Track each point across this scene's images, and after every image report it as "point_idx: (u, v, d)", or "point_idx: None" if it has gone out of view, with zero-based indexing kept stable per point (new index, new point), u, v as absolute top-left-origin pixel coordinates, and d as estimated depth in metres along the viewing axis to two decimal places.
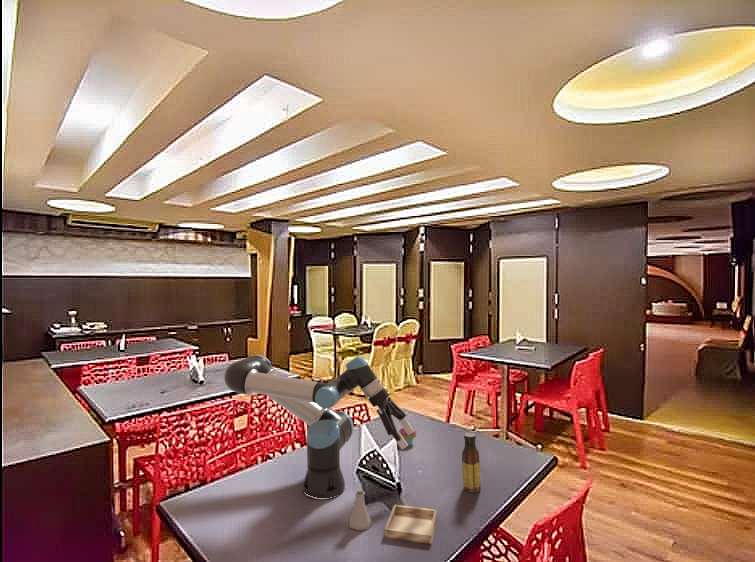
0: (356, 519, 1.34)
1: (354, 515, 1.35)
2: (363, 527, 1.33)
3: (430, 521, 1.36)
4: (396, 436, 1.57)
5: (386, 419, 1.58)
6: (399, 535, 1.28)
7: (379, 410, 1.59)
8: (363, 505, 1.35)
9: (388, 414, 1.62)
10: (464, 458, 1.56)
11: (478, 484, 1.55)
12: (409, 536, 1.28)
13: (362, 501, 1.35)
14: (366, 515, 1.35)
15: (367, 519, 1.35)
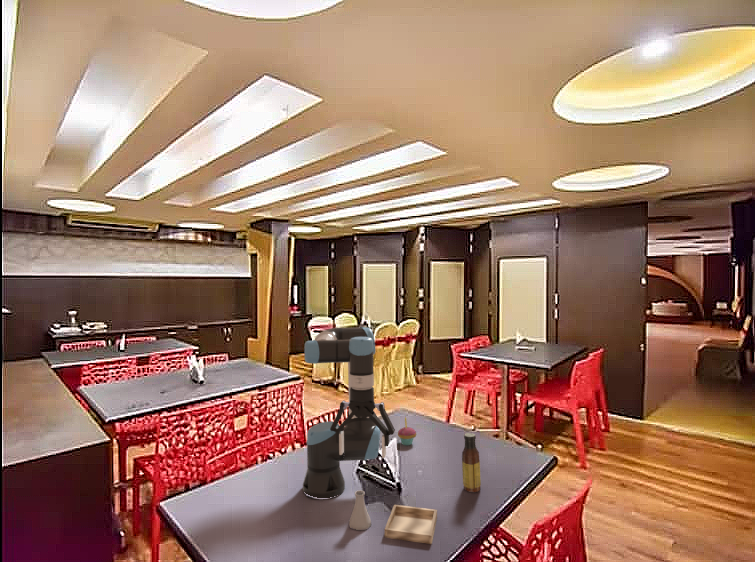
0: (356, 519, 1.34)
1: (354, 515, 1.35)
2: (363, 527, 1.33)
3: (430, 521, 1.36)
4: None
5: None
6: (399, 535, 1.28)
7: None
8: (363, 505, 1.35)
9: None
10: (464, 458, 1.56)
11: (478, 484, 1.55)
12: (409, 536, 1.28)
13: (362, 501, 1.35)
14: (366, 515, 1.35)
15: (367, 519, 1.35)
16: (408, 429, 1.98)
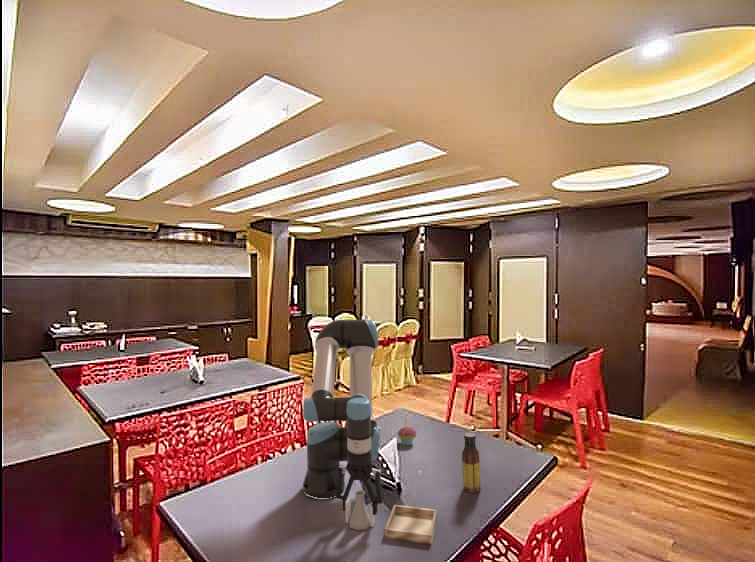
0: (356, 519, 1.34)
1: (354, 515, 1.35)
2: (363, 527, 1.33)
3: (430, 521, 1.36)
4: (343, 504, 1.37)
5: None
6: (399, 535, 1.28)
7: None
8: (363, 505, 1.35)
9: (349, 480, 1.36)
10: (464, 458, 1.56)
11: (478, 484, 1.55)
12: (409, 536, 1.28)
13: (362, 501, 1.35)
14: (366, 515, 1.35)
15: (367, 519, 1.35)
16: (408, 429, 1.98)
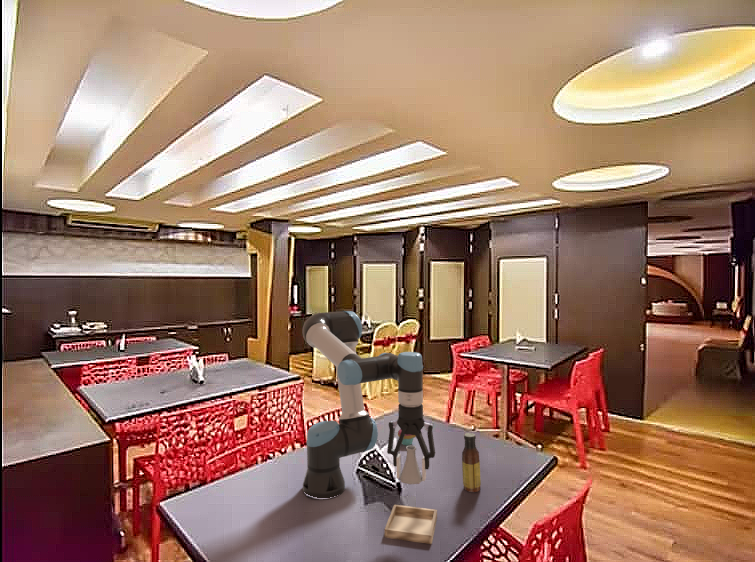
0: (408, 473, 1.32)
1: (406, 470, 1.32)
2: (415, 481, 1.31)
3: (430, 521, 1.36)
4: None
5: (389, 437, 1.35)
6: (399, 535, 1.28)
7: None
8: (415, 460, 1.33)
9: (400, 434, 1.34)
10: (464, 458, 1.56)
11: (478, 484, 1.55)
12: (409, 536, 1.28)
13: (414, 456, 1.33)
14: (418, 470, 1.33)
15: (419, 474, 1.33)
16: None
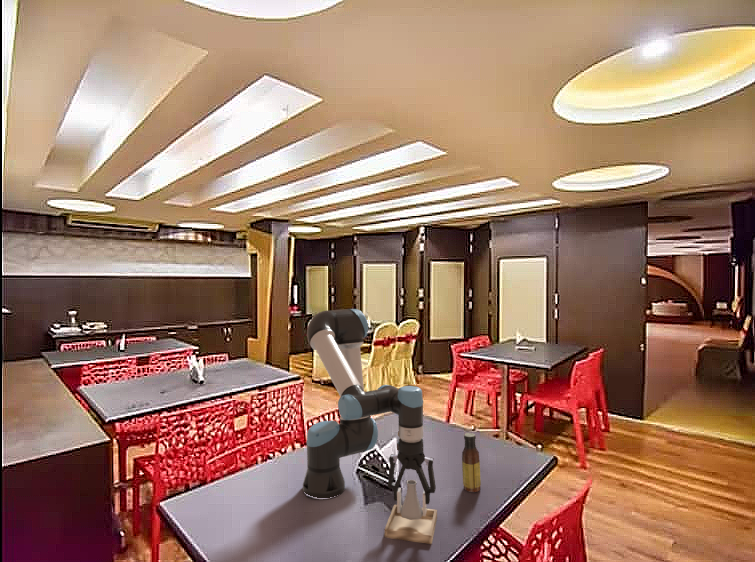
0: (409, 508, 1.32)
1: (406, 505, 1.33)
2: (416, 517, 1.31)
3: (430, 521, 1.36)
4: (394, 494, 1.35)
5: None
6: (399, 535, 1.28)
7: None
8: (415, 494, 1.33)
9: None
10: (464, 458, 1.56)
11: (478, 484, 1.55)
12: (409, 536, 1.28)
13: (414, 490, 1.33)
14: (418, 505, 1.33)
15: (419, 509, 1.33)
16: None
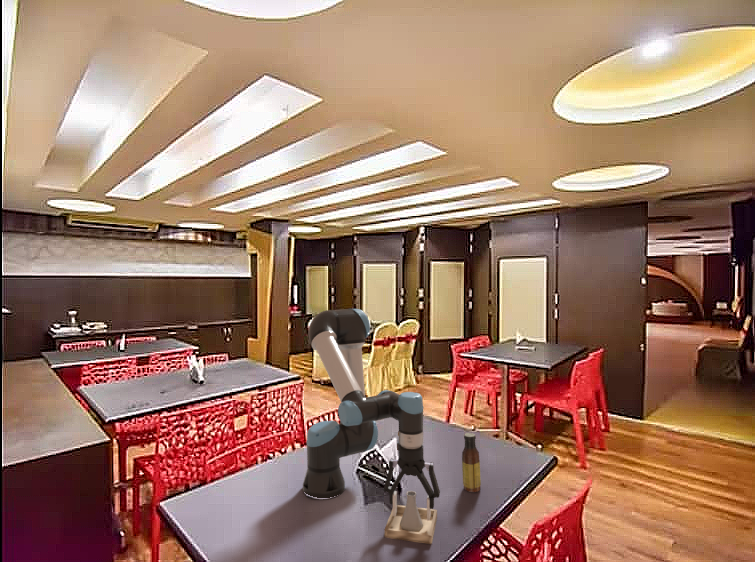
0: (408, 520, 1.32)
1: (406, 516, 1.33)
2: (416, 528, 1.31)
3: (430, 521, 1.36)
4: None
5: (387, 475, 1.35)
6: (399, 535, 1.28)
7: None
8: (415, 506, 1.33)
9: (399, 474, 1.34)
10: (464, 458, 1.56)
11: (478, 484, 1.55)
12: (409, 536, 1.28)
13: (414, 502, 1.33)
14: (418, 516, 1.33)
15: (419, 520, 1.33)
16: None
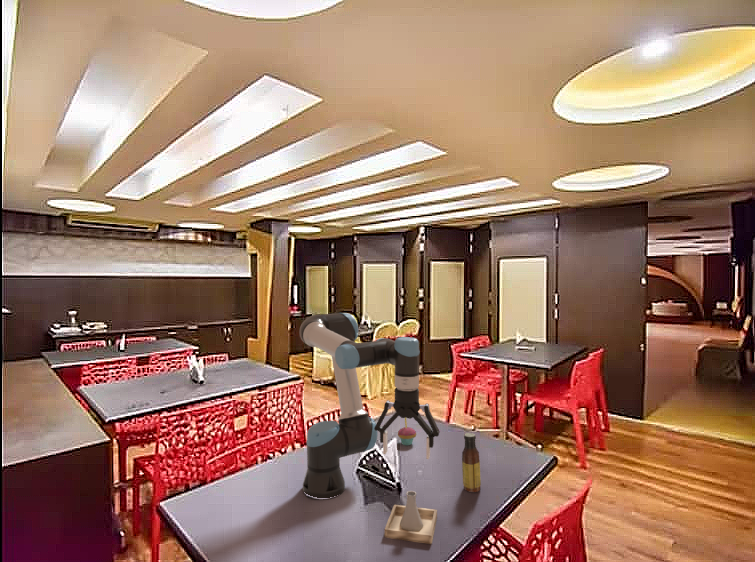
0: (408, 520, 1.32)
1: (406, 516, 1.33)
2: (416, 528, 1.31)
3: (430, 521, 1.36)
4: None
5: None
6: (399, 535, 1.28)
7: (385, 403, 1.38)
8: (415, 506, 1.33)
9: (393, 415, 1.36)
10: (464, 458, 1.56)
11: (478, 484, 1.55)
12: (409, 536, 1.28)
13: (414, 502, 1.33)
14: (418, 516, 1.33)
15: (419, 520, 1.33)
16: (408, 429, 1.98)
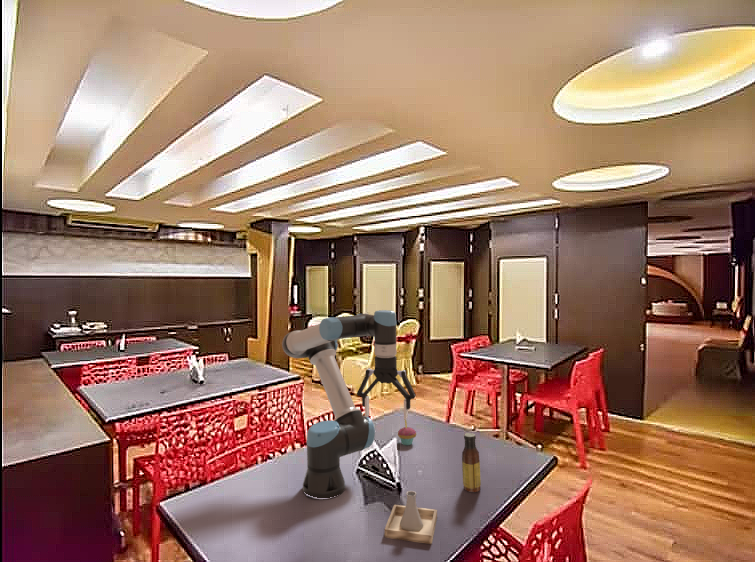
0: (408, 520, 1.32)
1: (406, 516, 1.33)
2: (416, 528, 1.31)
3: (430, 521, 1.36)
4: None
5: None
6: (399, 535, 1.28)
7: None
8: (415, 506, 1.33)
9: (373, 381, 1.50)
10: (464, 458, 1.56)
11: (478, 484, 1.55)
12: (409, 536, 1.28)
13: (414, 502, 1.33)
14: (418, 516, 1.33)
15: (419, 520, 1.33)
16: (408, 429, 1.98)
